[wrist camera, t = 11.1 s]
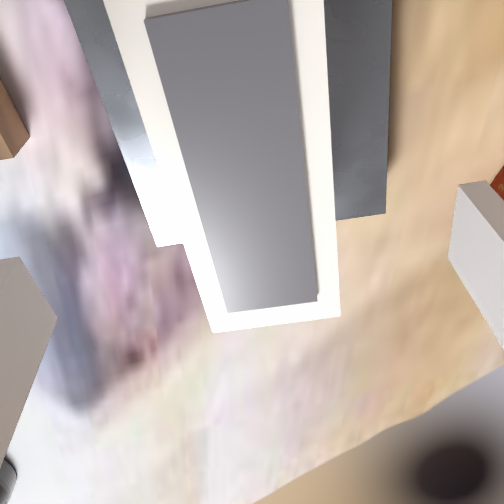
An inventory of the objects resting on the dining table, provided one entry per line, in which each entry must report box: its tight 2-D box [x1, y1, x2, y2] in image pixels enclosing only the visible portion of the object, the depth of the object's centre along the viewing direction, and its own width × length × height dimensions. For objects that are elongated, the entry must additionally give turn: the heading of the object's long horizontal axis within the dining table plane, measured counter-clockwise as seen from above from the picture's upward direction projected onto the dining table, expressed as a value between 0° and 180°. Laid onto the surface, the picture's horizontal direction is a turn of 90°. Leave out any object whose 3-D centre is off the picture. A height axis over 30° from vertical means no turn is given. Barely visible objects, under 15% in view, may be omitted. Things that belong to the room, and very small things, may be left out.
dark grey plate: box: [64, 0, 392, 247], centre depth 22 cm, size 14×20×2 cm
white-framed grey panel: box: [103, 0, 341, 333], centre depth 20 cm, size 6×15×10 cm, turn 9°
